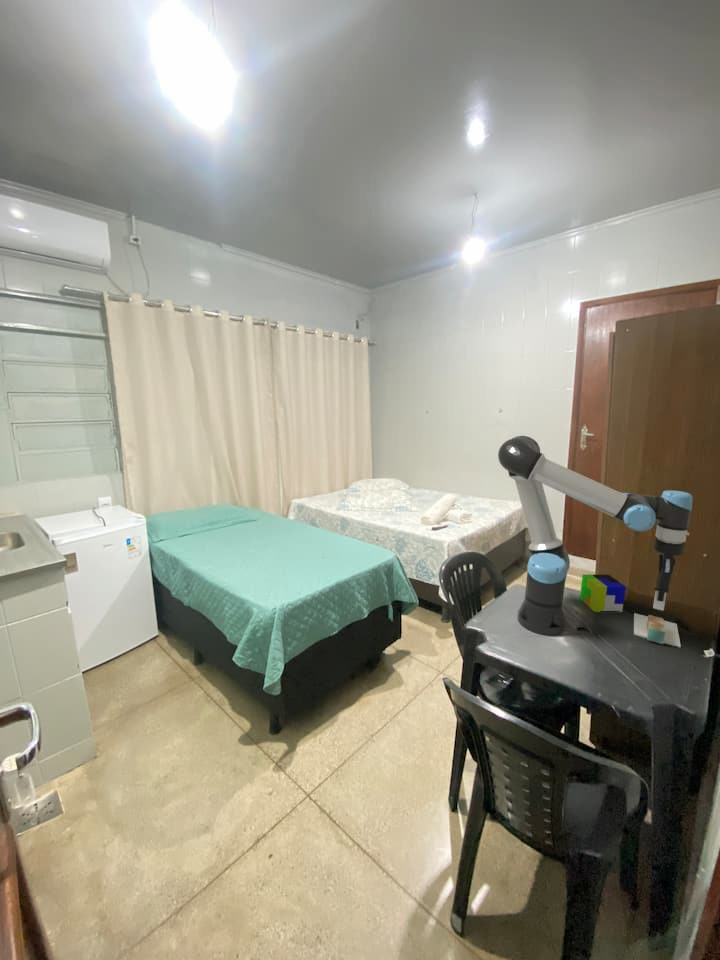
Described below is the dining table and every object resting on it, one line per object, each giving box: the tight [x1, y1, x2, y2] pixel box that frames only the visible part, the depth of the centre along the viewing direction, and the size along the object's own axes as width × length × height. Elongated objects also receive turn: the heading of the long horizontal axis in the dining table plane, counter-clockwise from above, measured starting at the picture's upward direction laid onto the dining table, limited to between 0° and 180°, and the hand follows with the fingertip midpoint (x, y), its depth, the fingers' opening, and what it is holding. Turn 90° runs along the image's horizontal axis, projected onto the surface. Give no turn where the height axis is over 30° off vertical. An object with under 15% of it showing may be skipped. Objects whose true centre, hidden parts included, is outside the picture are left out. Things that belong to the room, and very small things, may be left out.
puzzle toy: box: [579, 573, 627, 613], centre depth 147 cm, size 10×10×10 cm
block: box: [646, 614, 665, 645], centre depth 128 cm, size 4×4×10 cm
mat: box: [633, 612, 682, 648], centre depth 132 cm, size 12×15×1 cm
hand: (658, 608), depth 128 cm, fingers closed
